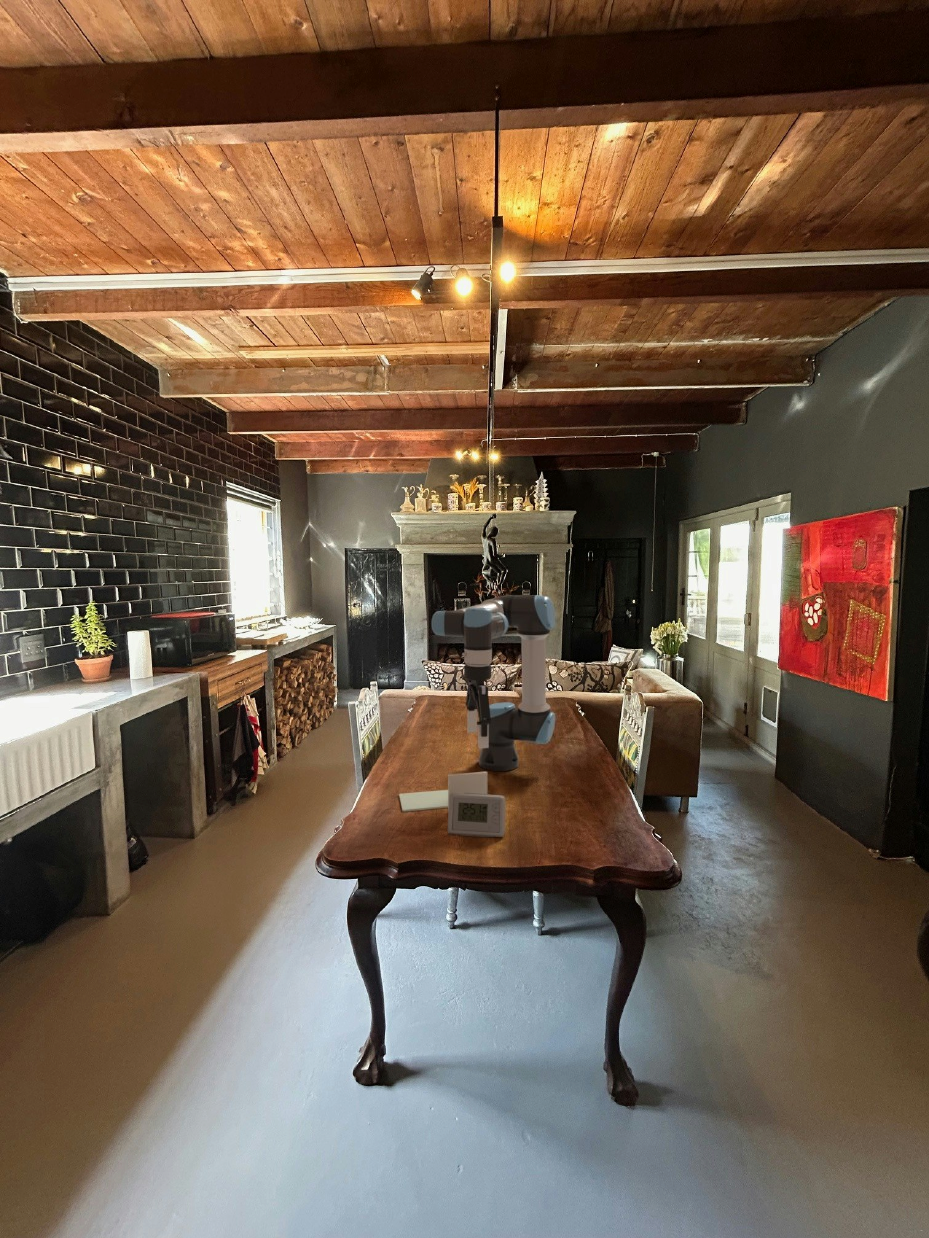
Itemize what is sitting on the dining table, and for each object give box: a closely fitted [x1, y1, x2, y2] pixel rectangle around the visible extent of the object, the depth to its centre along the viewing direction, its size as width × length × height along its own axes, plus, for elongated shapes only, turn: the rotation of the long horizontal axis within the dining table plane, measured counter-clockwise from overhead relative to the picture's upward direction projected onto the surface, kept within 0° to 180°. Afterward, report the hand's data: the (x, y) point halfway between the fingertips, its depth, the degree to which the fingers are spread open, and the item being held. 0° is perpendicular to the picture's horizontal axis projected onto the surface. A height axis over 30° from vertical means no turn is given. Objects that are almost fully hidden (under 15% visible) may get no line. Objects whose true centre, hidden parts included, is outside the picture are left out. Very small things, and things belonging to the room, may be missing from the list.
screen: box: [447, 771, 488, 812], centre depth 163 cm, size 12×4×12 cm, turn 102°
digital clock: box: [447, 793, 506, 838], centre depth 150 cm, size 16×9×11 cm, turn 71°
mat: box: [398, 789, 448, 812], centre depth 171 cm, size 19×12×1 cm, turn 102°
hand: (477, 739), depth 148 cm, fingers open, 13 cm apart
